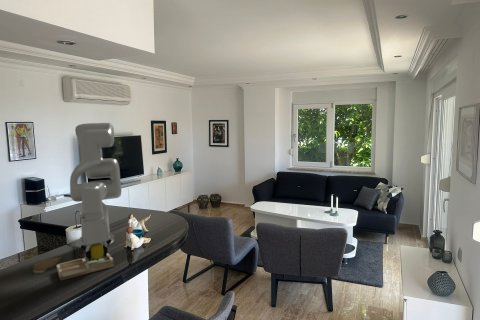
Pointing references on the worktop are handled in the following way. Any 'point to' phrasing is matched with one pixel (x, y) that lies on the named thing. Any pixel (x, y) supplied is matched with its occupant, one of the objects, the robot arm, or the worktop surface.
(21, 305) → the worktop surface
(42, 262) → the pottery shard
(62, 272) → the tray
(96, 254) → the lemon
